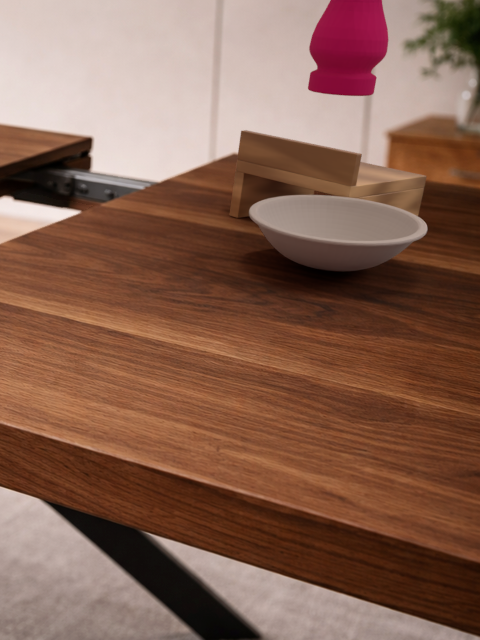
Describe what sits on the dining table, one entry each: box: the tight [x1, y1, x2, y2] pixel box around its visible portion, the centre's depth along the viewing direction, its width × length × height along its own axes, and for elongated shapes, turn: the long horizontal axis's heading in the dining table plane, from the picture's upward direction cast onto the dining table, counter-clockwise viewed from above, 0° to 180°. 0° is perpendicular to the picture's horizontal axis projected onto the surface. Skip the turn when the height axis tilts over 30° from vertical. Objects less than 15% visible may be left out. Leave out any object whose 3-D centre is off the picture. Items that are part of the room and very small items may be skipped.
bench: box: [229, 129, 428, 219], centre depth 98 cm, size 12×14×9 cm
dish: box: [248, 194, 428, 272], centre depth 83 cm, size 18×14×5 cm
